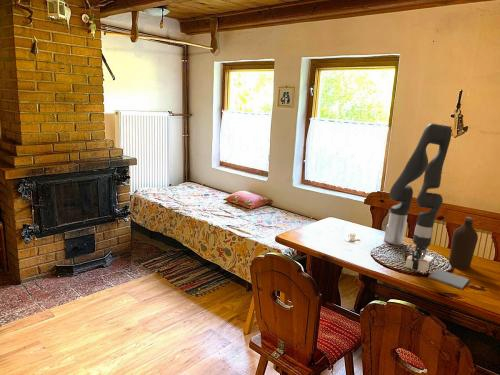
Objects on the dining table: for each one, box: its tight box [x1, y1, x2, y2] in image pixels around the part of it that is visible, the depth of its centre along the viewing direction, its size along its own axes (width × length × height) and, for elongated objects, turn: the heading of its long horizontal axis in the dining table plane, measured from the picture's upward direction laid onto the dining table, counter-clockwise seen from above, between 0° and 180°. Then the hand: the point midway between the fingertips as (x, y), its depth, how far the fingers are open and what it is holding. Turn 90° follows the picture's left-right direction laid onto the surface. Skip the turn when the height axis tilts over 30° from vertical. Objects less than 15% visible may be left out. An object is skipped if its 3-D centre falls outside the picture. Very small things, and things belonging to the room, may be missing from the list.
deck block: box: [405, 254, 430, 273], centre depth 177 cm, size 9×4×5 cm, turn 48°
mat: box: [428, 268, 470, 290], centre depth 169 cm, size 14×12×1 cm
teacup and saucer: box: [344, 232, 361, 244], centre depth 209 cm, size 9×8×4 cm
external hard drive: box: [424, 254, 435, 264], centre depth 189 cm, size 2×8×12 cm
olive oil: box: [448, 216, 479, 270], centre depth 183 cm, size 11×11×25 cm
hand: (416, 267), depth 177 cm, fingers closed on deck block, 4 cm apart
